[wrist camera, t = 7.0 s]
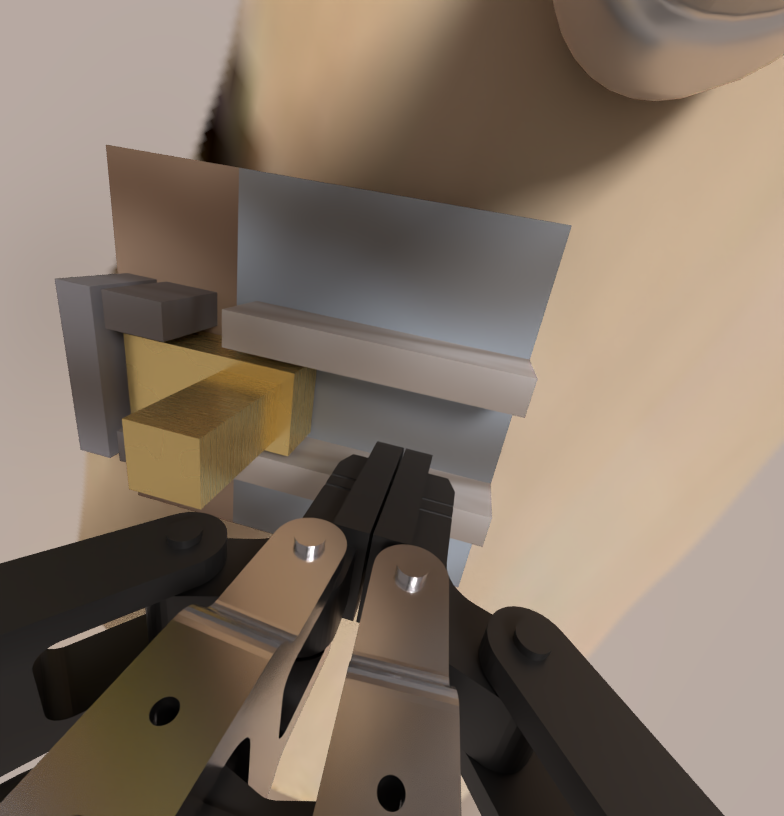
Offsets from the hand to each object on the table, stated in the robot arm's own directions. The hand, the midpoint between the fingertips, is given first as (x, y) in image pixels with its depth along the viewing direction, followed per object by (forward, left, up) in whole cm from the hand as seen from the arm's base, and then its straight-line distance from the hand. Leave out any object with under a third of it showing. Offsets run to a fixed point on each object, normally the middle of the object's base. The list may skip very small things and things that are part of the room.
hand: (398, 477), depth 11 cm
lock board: (0, -4, -6) cm, 7 cm away
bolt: (0, -7, -4) cm, 8 cm away
